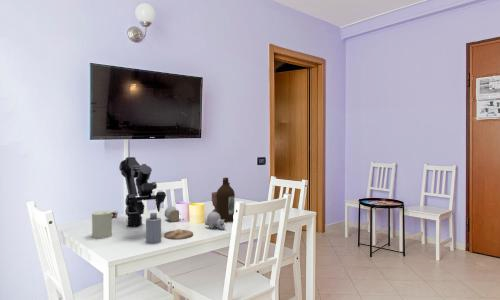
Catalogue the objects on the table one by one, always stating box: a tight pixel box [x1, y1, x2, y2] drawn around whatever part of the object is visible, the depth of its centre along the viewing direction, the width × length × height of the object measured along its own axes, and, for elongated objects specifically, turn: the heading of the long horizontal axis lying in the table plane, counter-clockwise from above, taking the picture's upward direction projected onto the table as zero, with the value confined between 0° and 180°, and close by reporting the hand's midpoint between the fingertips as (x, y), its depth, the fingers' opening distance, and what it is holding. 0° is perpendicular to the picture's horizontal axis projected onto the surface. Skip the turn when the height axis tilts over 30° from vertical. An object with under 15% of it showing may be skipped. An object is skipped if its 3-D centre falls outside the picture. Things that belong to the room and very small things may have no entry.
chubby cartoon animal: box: [204, 211, 226, 230], centre depth 192 cm, size 7×12×8 cm, turn 54°
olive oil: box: [216, 177, 236, 223], centre depth 210 cm, size 11×11×25 cm
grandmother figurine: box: [112, 210, 119, 218], centre depth 214 cm, size 8×4×13 cm
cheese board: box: [163, 228, 194, 240], centre depth 178 cm, size 14×14×4 cm
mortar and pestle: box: [211, 181, 231, 212], centre depth 230 cm, size 12×9×20 cm
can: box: [91, 210, 113, 239], centre depth 176 cm, size 9×9×12 cm
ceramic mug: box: [164, 206, 180, 223], centre depth 210 cm, size 11×8×8 cm
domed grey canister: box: [145, 212, 162, 244], centre depth 168 cm, size 7×7×13 cm
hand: (149, 212), depth 173 cm, fingers open, 9 cm apart
